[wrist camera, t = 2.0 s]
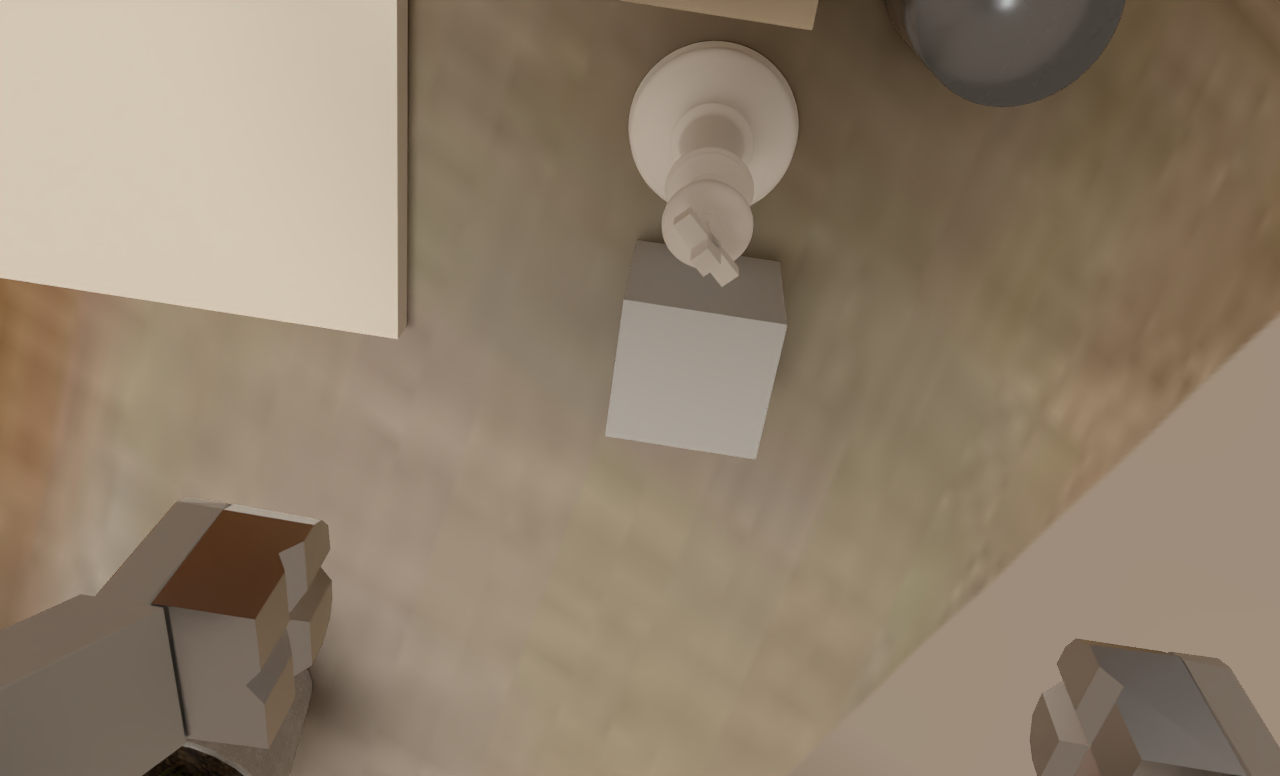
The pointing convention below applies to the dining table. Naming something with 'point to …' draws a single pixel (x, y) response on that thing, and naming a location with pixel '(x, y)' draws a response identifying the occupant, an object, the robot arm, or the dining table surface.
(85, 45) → the ceramic tile
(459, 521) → the dining table surface
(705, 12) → the birch block
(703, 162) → the chess piece
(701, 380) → the grey block
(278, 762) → the house plant
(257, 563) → the robot arm
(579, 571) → the dining table surface
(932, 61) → the metal tin
